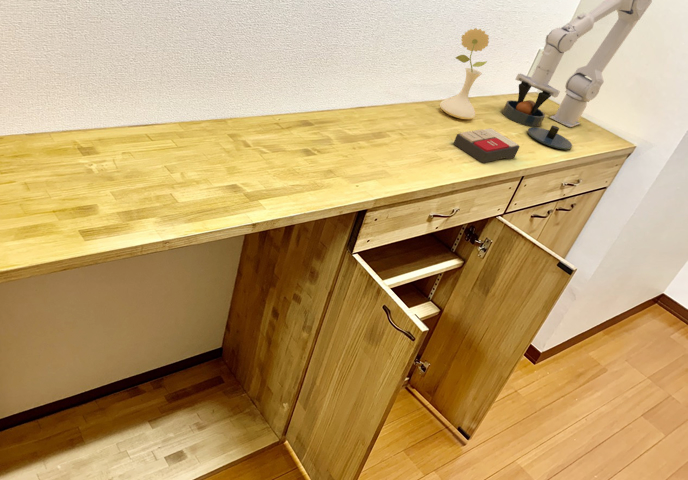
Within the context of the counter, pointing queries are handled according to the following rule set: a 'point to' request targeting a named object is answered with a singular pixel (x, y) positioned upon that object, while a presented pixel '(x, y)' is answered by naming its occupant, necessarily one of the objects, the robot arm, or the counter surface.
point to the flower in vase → (460, 102)
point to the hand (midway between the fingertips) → (525, 109)
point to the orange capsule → (525, 107)
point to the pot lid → (550, 137)
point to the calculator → (486, 145)
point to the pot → (522, 115)
